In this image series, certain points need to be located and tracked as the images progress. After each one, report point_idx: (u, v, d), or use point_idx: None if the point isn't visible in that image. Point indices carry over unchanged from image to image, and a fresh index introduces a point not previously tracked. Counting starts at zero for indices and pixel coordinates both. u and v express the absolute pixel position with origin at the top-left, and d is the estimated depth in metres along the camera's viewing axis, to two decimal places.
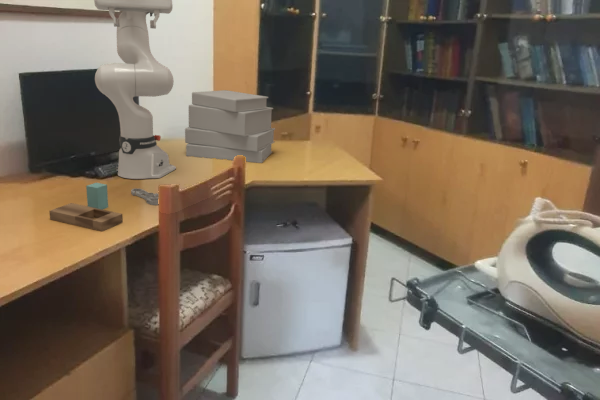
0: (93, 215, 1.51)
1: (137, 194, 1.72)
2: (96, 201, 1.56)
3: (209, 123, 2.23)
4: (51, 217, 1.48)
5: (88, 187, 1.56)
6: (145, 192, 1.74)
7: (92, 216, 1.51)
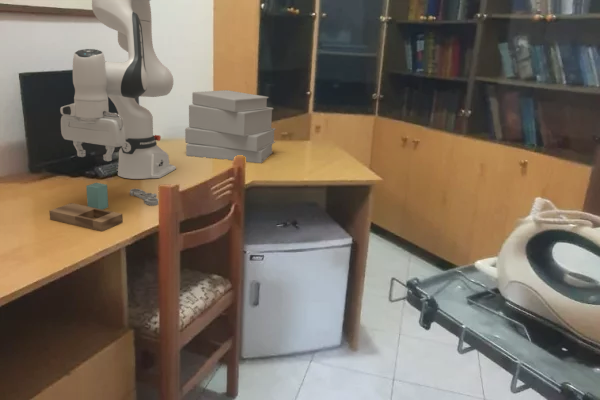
0: (93, 215, 1.51)
1: (135, 194, 1.71)
2: (96, 201, 1.56)
3: (209, 123, 2.23)
4: (51, 217, 1.48)
5: (88, 187, 1.56)
6: (143, 192, 1.74)
7: (92, 216, 1.51)
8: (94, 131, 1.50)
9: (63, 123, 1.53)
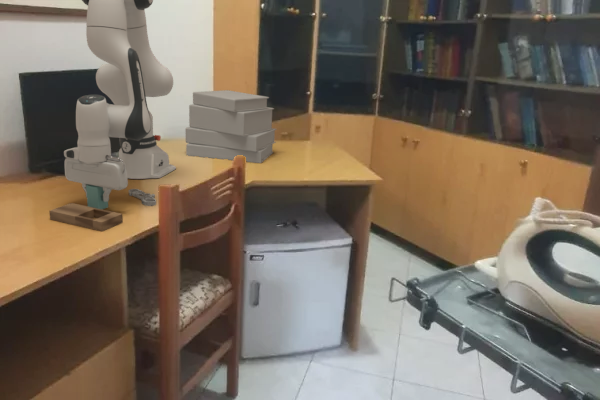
0: (93, 215, 1.51)
1: (134, 194, 1.71)
2: (96, 201, 1.56)
3: (209, 123, 2.23)
4: (51, 217, 1.48)
5: (88, 187, 1.56)
6: (142, 193, 1.73)
7: (92, 216, 1.51)
8: (97, 174, 1.54)
9: (67, 165, 1.57)
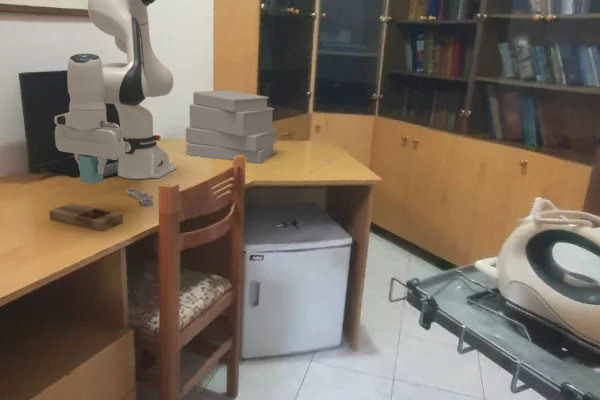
0: (93, 215, 1.51)
1: (132, 195, 1.71)
2: (90, 173, 1.41)
3: (209, 123, 2.24)
4: (51, 217, 1.48)
5: (81, 157, 1.41)
6: (141, 193, 1.73)
7: (92, 216, 1.51)
8: (91, 142, 1.38)
9: (57, 133, 1.41)
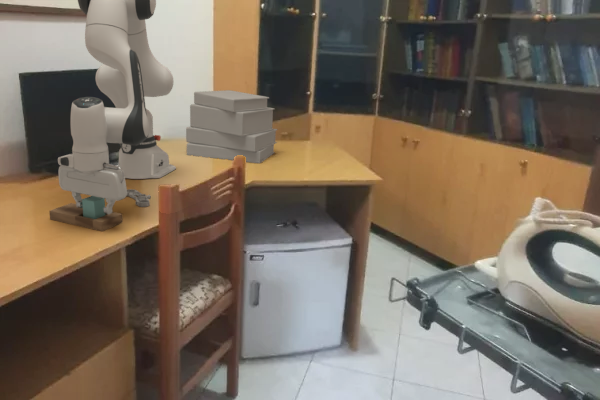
0: None
1: (130, 195, 1.70)
2: (93, 216, 1.45)
3: (209, 123, 2.24)
4: (51, 217, 1.48)
5: (84, 201, 1.44)
6: (139, 193, 1.73)
7: None
8: (94, 183, 1.42)
9: (61, 173, 1.45)
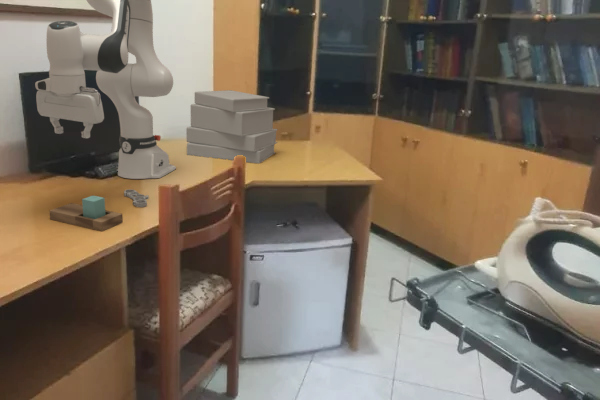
0: None
1: (128, 195, 1.70)
2: (93, 216, 1.45)
3: (209, 122, 2.24)
4: (51, 217, 1.48)
5: (84, 201, 1.44)
6: (137, 193, 1.72)
7: None
8: (71, 107, 1.45)
9: (39, 99, 1.48)
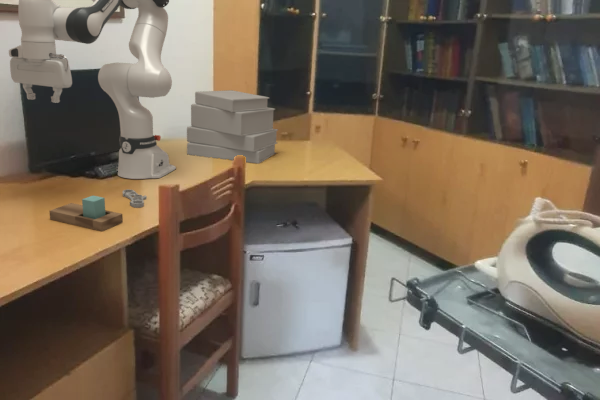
0: None
1: (126, 195, 1.70)
2: (93, 216, 1.45)
3: (209, 122, 2.25)
4: (51, 217, 1.48)
5: (84, 201, 1.44)
6: (136, 194, 1.72)
7: None
8: (41, 73, 1.55)
9: (12, 66, 1.58)
